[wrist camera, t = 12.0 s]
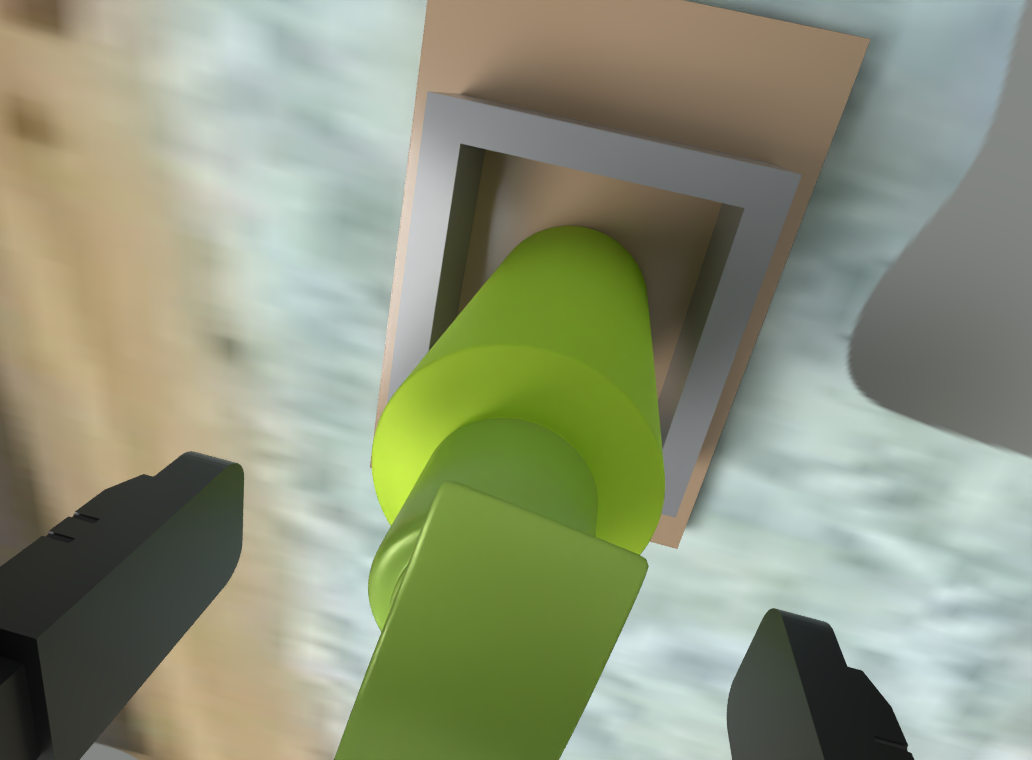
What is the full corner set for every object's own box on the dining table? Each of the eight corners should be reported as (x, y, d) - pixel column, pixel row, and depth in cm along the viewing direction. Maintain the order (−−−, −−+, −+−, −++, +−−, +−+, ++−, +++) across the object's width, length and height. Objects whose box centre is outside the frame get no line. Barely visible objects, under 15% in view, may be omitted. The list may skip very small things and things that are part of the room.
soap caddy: (446, -42, 22) (392, -85, 17) (855, 43, 21) (923, 24, 16) (381, 451, 31) (332, 518, 26) (675, 528, 30) (684, 614, 25)
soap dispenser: (687, 233, 23) (903, 704, 5) (610, 396, 26) (565, 1077, 8) (533, 172, 23) (177, 413, 5) (473, 342, 26) (107, 892, 8)
